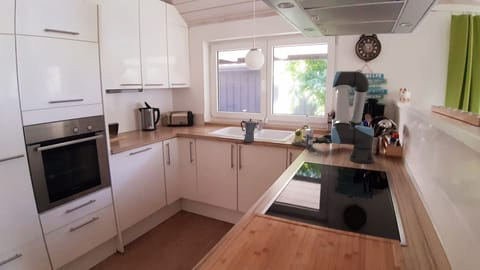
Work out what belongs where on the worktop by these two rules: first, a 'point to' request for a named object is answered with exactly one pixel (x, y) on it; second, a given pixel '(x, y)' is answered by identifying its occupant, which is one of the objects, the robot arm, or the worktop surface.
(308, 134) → the grey white box
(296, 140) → the pale yellow rounded lump
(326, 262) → the worktop surface
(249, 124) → the moka pot
